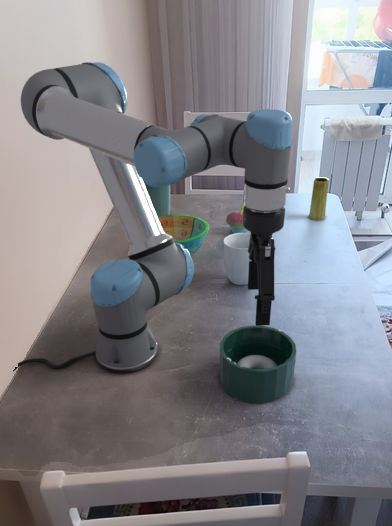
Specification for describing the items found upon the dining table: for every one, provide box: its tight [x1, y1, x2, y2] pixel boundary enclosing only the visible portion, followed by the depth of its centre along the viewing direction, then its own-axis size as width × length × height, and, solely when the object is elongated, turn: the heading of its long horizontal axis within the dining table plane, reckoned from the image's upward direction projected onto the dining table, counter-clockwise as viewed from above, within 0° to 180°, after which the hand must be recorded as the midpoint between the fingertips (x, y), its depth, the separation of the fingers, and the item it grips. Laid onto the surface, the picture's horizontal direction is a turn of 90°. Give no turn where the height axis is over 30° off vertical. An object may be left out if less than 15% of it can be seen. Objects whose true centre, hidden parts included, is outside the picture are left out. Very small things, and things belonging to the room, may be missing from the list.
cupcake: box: [225, 201, 246, 234], centre depth 173 cm, size 9×8×12 cm
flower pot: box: [142, 179, 171, 217], centre depth 187 cm, size 16×16×16 cm
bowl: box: [158, 214, 210, 257], centre depth 159 cm, size 22×22×10 cm
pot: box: [219, 325, 297, 404], centre depth 109 cm, size 17×17×9 cm
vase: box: [308, 177, 330, 221], centre depth 180 cm, size 6×6×14 cm
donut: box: [237, 355, 277, 369], centre depth 110 cm, size 10×4×10 cm
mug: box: [222, 232, 251, 286], centre depth 142 cm, size 15×11×13 cm
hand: (258, 305), depth 100 cm, fingers open, 13 cm apart
